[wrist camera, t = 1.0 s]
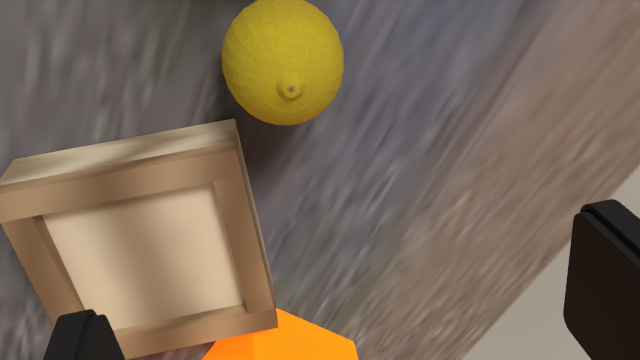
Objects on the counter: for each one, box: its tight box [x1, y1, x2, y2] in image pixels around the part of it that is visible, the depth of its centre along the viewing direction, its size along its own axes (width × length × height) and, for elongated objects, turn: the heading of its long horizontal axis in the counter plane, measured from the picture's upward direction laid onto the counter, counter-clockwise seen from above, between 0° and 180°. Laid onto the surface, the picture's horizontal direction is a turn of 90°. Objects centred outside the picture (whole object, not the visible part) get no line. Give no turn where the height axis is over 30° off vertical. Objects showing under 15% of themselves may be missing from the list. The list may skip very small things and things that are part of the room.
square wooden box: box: [0, 118, 278, 359], centre depth 32 cm, size 12×12×4 cm
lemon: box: [222, 0, 344, 125], centre depth 26 cm, size 6×6×8 cm
